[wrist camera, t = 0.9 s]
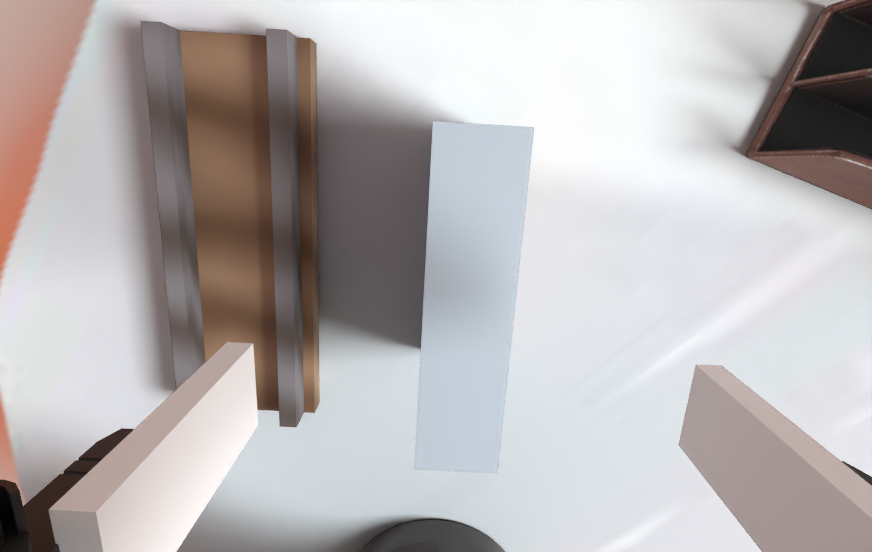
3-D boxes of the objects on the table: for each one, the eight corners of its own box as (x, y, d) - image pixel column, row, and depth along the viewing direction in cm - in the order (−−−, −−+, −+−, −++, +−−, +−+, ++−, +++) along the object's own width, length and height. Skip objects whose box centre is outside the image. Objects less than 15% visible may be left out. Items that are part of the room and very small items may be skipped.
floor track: (319, 402, 38) (307, 427, 34) (192, 395, 37) (168, 420, 34) (316, 43, 31) (301, 30, 27) (160, 34, 31) (126, 20, 27)
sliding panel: (475, 352, 36) (497, 473, 23) (423, 349, 36) (414, 469, 23) (494, 135, 32) (534, 127, 19) (435, 131, 32) (432, 121, 19)
